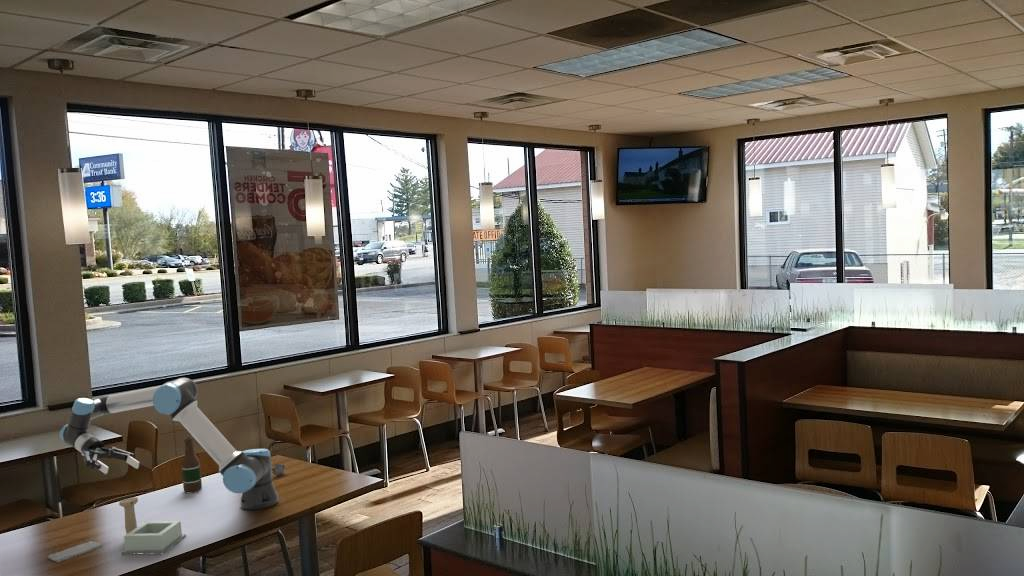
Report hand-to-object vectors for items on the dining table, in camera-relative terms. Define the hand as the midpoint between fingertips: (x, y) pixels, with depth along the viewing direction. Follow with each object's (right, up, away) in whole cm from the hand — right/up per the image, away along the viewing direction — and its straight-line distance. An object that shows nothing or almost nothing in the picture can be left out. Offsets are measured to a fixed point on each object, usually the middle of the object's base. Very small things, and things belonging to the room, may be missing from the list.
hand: (122, 468), depth 312 cm
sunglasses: (+34, -19, +67) cm, 77 cm away
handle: (+7, -25, -7) cm, 27 cm away
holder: (+19, -25, -15) cm, 35 cm away
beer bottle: (+8, -21, +49) cm, 54 cm away
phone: (-9, -28, -17) cm, 34 cm away
